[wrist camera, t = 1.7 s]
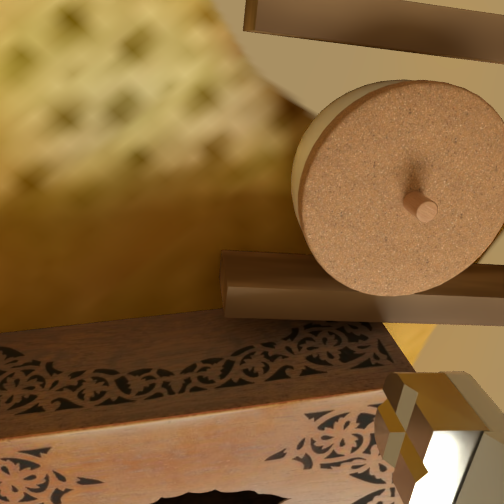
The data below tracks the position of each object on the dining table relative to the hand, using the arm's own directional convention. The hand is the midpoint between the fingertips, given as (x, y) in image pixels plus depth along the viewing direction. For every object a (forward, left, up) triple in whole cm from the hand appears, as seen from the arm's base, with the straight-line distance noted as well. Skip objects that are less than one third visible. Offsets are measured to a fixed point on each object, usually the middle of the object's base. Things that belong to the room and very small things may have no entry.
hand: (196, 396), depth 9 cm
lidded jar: (0, +10, -22) cm, 24 cm away
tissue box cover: (+18, +1, -22) cm, 29 cm away
